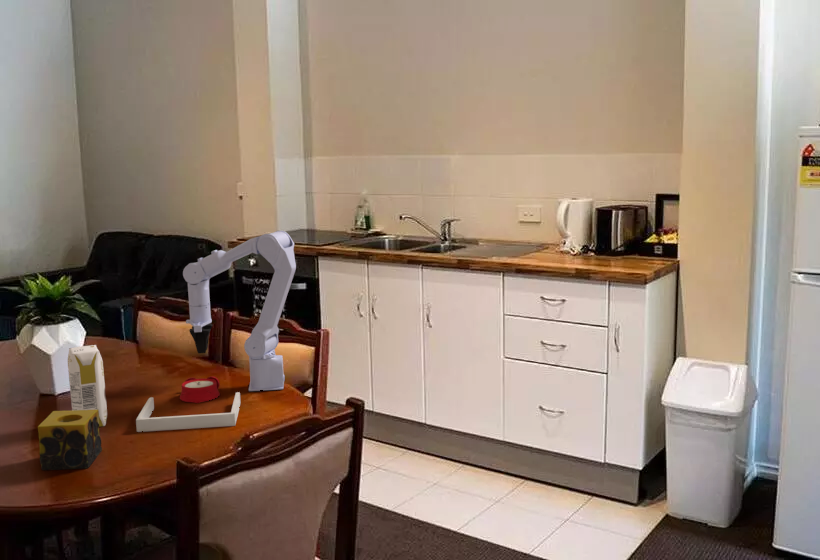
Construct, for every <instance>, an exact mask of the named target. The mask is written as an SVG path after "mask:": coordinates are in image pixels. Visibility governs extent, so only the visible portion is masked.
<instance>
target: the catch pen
mask: <svg viewBox="0 0 820 560" xmlns="http://www.w3.org/2000/svg"><path fill="white" fill-rule="evenodd" d="M233 398H234V399H233V402H232V406H231V411H230V412H220V413H206V414H205V413H204V414H189V415H173V416H172V415H171V416H159V417H158V416H157V417H156V416H154V417H153V416H152V417H151V415H152V413H153V412H154V410H155V401H154V397H152V396H151V397H149V398H148V399H147V401H146V403H145V404H144V406H143V407H142V409H141V411H140V412H139V414H138V416H137V417H136V419H135V425H136V427H135V428H136V432H138V433H142V431H143V433H145V432H156V431H157V432H159V431H173V430H188V429H189V430H190V429H201V428H202V429H203V428H204V429H205V428H219V427H234V426H235V427H236V424H237V420H238V416H239V411H240V408H239V407H240V406H241V393H240V391H239V392H238V391H237V392H236V391H235V395H234V397H233ZM152 411H153V412H152Z"/></svg>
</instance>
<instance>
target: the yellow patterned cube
mask: <svg viewBox="0 0 820 560" xmlns="http://www.w3.org/2000/svg"><path fill="white" fill-rule="evenodd" d="M37 431H38V432H37V433H38V440H39V441H38V444H39V463H40V465H41V467H40V469H41V471H60V470H65V471H66V470H76V469H88V468H89V467H91V466H92V464H93V463H94V462H95V460H96V459H97V458H98V456H99V455H100V453H102V451H103V448H102V438H101V435H100V428H99V423H98V410H72V409H71V410H53V411H51V413H50V414H49V415H47V417H46V418H45V419H44V420H43V421H42V422H41V423H40V424H38V426H37Z"/></svg>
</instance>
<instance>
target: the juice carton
mask: <svg viewBox="0 0 820 560" xmlns="http://www.w3.org/2000/svg"><path fill="white" fill-rule="evenodd" d="M67 368H68V369H67V371H68V381H69V392H70V402H71V411H72V410H98V423H99V427H105V426H106V424H107V418H108V409H107V407H108V406H107V397H106V383H105V374H104V373H105V372H104V361H103V358H102V354H101V353H100V350H99V349H98V347H97V344H94V345H93V344H91V345H82V346H74V347H70V348H68V355H67Z"/></svg>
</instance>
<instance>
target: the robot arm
mask: <svg viewBox="0 0 820 560" xmlns="http://www.w3.org/2000/svg"><path fill="white" fill-rule="evenodd" d="M294 248H295V242H294V240H293V239H292V237H291V236H290V234H289V233H288V232H286V231H285V230H282V229H281V230H276V231H274V232H271V233H264V234H262V235H260V236H255V237H251V238H250V239H248V240H246V241H244V242H242V243H240V244H238V245H237V246H235V247H233V248H231V249H229V250H228V251H225V250H222V249H220V250H218V249H215V250H212V251H211V252H210V253H211V254H209V255H207V256H205V257H199V258H197V262H190V263H188V264H187V265H186V266H185V267H184V268H183V269H182V270H183V271H182V276H183V279H184V280H185V282H186V283H187V292H188V293H187V294H188V295H187V296H188V310H189V319H186V320H185V324H190V325H191V328H189V330H188V331H189V334H190V335H191V337H192V339H193V341H194V345H195V348H196V351H197V353H198V354H206V352H207V350H208V347H209V339H210V333H211V330H212V327H213V324H212V321H213V320H212V315H211V314H212V313H211V301H210V300H211V299H210V297H211V296H210V279H211V278H213V277H215V276H217V275H219V274H221V273H223V272H225V271H227V270H229V269H230V268H231V266H232V263H233V262H235V261H237V260H239V259H241V258H242V259H243V257H246V256H248V255H250V254H255V255H258V254H259V255H261V256H262V257H263V258H264V259H265V260H266V261H267V262H268V263H270V265H271V266H272V268H273V270H274V273H273V275H272V278H271V282H270V284H269V288H268V291H267V295H266V297H265V301H264V303H263V307H262V309H261V312H260V316H259V319H258V322H257V324H256V325H255V326H254V327H253V328H252V331H251V334H250V336H248V337H247V339H245V342H244V345H243V348H244V351H245V353H246V355H247V356H248V358H249V359H248V361H249V377H250V382H249V386H248V392H261V391H260V390H263V391H276V390H277V391H279V390H280V391H281V390H284V387H285V386H284V385H285V381H286V380H285V377H286V376H285V373H284V359H283V357H284V356H283V355H281V354H276V351H275V349H276V348H277V347H278V345H279V333H280V328H279V327H278V324H279V321H280V319H281V315H282V312H283V309H284V306H285V303H286V300H287V296H288V293H289V291H290V288H291V285H292V281H293V279H294V277H295V276H294V275H295V273H296V269H297V264H296V259H295V258H296V257H295V251H294Z"/></svg>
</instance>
